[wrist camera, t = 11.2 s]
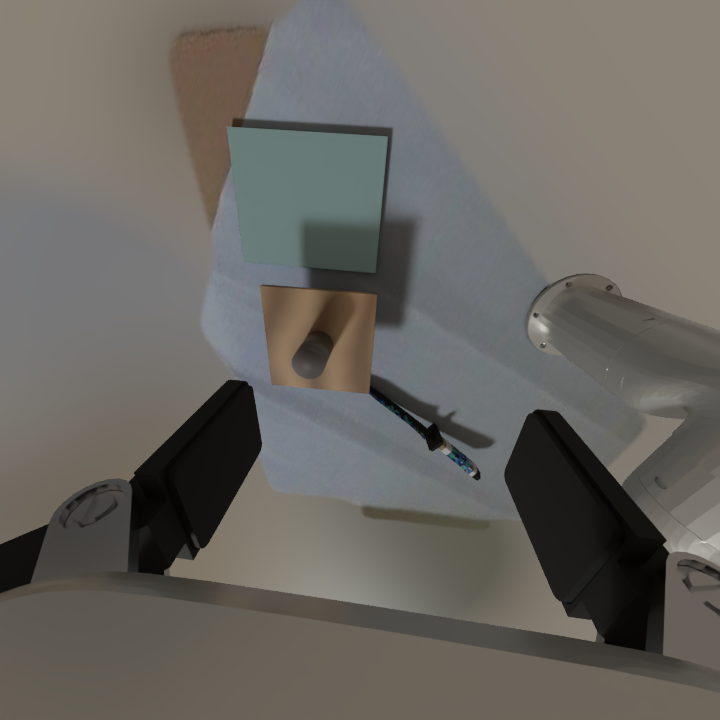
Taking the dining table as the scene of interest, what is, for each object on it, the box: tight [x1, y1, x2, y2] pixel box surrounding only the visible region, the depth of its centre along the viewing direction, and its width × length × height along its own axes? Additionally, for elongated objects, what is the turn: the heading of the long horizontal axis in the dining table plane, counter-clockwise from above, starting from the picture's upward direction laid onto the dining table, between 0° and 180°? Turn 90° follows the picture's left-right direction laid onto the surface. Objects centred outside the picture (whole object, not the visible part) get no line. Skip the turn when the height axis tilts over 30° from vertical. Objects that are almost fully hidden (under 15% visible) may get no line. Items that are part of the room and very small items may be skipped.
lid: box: [260, 285, 377, 394], centre depth 36 cm, size 15×15×7 cm
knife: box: [369, 386, 480, 480], centre depth 52 cm, size 30×3×4 cm, turn 50°
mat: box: [227, 127, 388, 273], centre depth 38 cm, size 20×16×1 cm
